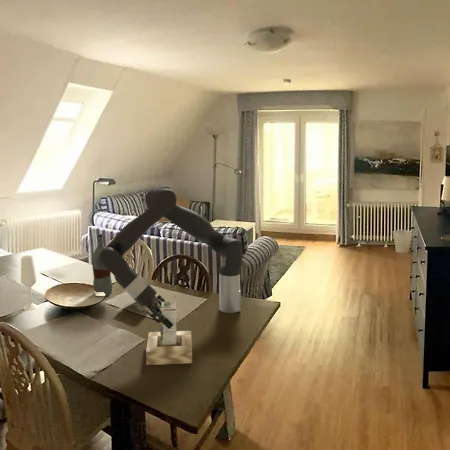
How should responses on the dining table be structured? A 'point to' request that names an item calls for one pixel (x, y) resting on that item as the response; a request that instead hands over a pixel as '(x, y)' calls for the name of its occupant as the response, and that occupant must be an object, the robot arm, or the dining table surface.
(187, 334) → the well block
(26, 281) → the champagne flute
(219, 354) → the dining table surface
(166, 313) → the syrup box
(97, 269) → the bottle
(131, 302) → the grey slanted panel
